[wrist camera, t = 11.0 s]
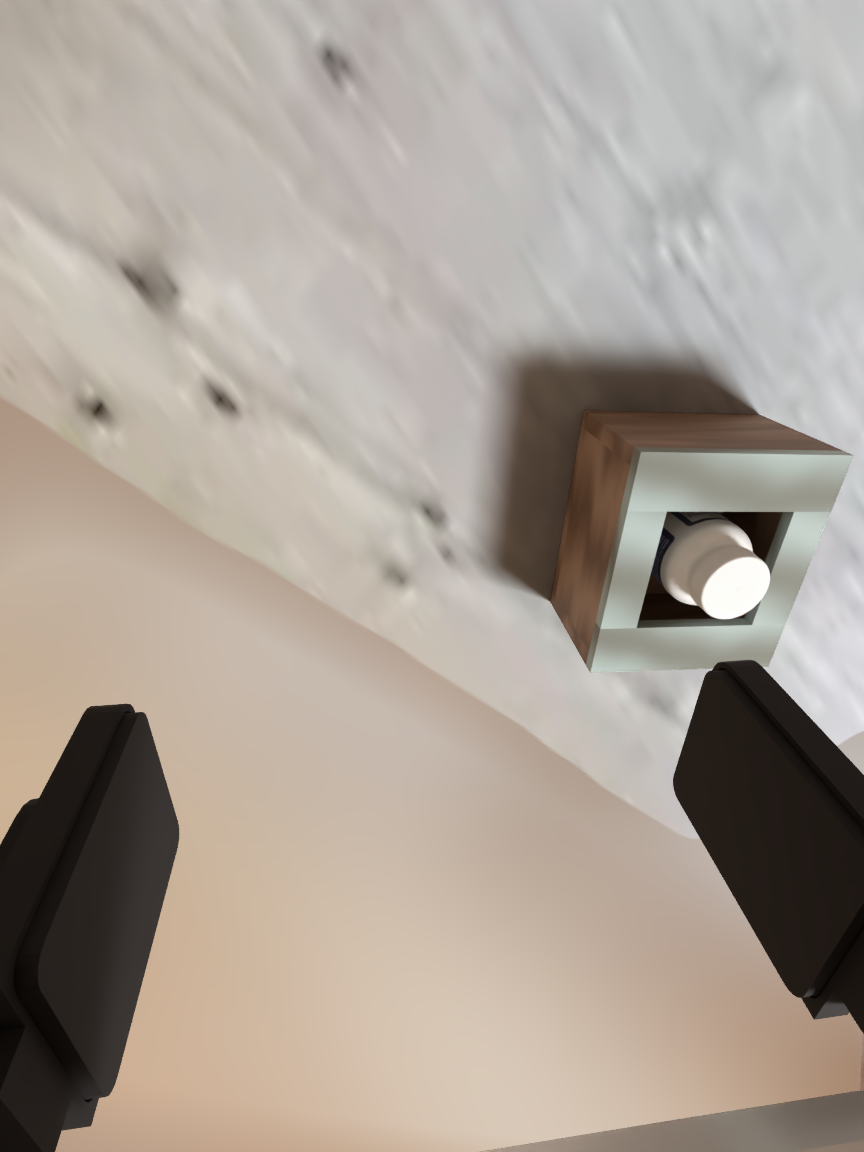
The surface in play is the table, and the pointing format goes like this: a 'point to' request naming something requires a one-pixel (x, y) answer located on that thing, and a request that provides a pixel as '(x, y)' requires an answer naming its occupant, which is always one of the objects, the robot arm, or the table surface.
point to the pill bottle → (709, 564)
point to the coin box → (685, 484)
